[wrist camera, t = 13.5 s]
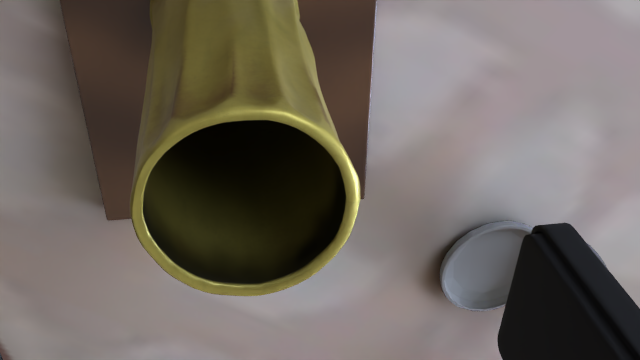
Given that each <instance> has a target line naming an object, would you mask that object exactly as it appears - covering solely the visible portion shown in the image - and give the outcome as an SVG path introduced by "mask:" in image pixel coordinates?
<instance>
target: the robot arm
mask: <svg viewBox="0 0 640 360" xmlns="http://www.w3.org/2000/svg"><path fill="white" fill-rule="evenodd" d="M498 348H499V351H500V354H501V357H502V359H503V360H640V309H639V307H638V306H637V305H636V304H635V302H634V301H633V300H632V299H631V298H630V296H629V295H628V294H627V293H626V291H625V290H624V289H623V288H622V286H621V285H620V284H619V283H618V282H617V280H616V279H615V278H614V277H613V275H612V274H611V273H610V272H609V270H608V269H607V268H606V267H605V266H604V264H603V263H602V262H601V261H600V259H599V258H598V257H597V256H596V254H595V253H594V252H593V251H592V250H591V248H590V247H589V246H588V245H587V243H586V242H585V241H584V240H583V238H582V237H581V236H580V235H579V234H578V232H577V231H576V230H575V229H574V228H573V227H572V226H571V225H570V224H568V223H559V224H548V225H538V226H535V227H534V228H533V229H532V231H531V234H528V235H525V237H524V238H523V241H522V244H521V248H520V252H519V256H518V260H517V264H516V268H515V271H514V275H513V279H512V283H511V287H510V291H509V295H508V298H507V302H506V306H505V310H504V314H503V318H502V322H501V326H500V329H499V333H498ZM0 360H3V359H2V356H1V354H0Z"/></svg>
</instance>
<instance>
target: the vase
mask: <svg viewBox="0 0 640 360" xmlns="http://www.w3.org/2000/svg"><path fill="white" fill-rule="evenodd" d="M299 19H300V13H299V8H298V2H297V0H150V20H151V25H152V30H153V31H152V45H151V52H150V58H149V64H148V72H147V81H146V90H145V96H144V103H143V110H142V117H141V124H140V129H139V135H138V142H137V151H136V160H135V168H134V177H133V184H132V191H131V196H130V215H131V219H132V223H133V227H134V229H135V232H136V235H137V237H138V239H139V241H140V243H141V245H142V246H143V248H144V249H145V250H146V251H147V252H148V253H149V255H150V256H151V257H152V258H153V259H154V260H155V261H156V263H157V264H158V265H159V266H160V267H161V268H162V269H163V270H164V271H165V272H167V273H168V274H169V275H171V276H172V277H174V278H175V279H177V280H179V281H181V282H183V283H185V284H187V285H188V286H190V287H192V288H195V289H198V290H201V291H203V292H207V293H211V294H219V295H233V296H258V295H265V294H270V293H274V292H277V291H281V290H284V289H287V288H289V287H292V286H294V285H297V284H299V283H300V282H302V281H304V280H306V279H308V278H310V277H311V276H312V275H314V274H315V273H317V272H318V271H319V270H320V269H321V268H322V267H324V266H325V265H326V264H327V263H328V262H329V261H330V260H331V259H332V258H333V257H335V255H336V254H337V253H338V252H339V250H340V249H341V248H342V247H343V245H344V244H345V242H346V241H347V239H348V238H349V236H350V233H351V231H352V229H353V226H354V222H355V219H356V216H357V212H358V207H359V203H360V181H359V178H358V175H357V173H356V171H355V169H354V167H353V165H352V163H351V160H350V159H349V157H348V155H347V153H346V151H345V149H344V147H343V146H342V144H341V143H340V141H339V138H338V135H337V132H336V129H335V127H334V124H333V122H332V119H331V117H330V114H329V112H328V109H327V107H326V104H325V101H324V98H323V95H322V92H321V89H320V86H319V82H318V77H317V71H316V65H315V58H314V54H313V51H312V48H311V45H310V43H309V41H308V38H307V35H306V33H305V30H304V28H303V27H302V25H301V23H300V21H299Z"/></svg>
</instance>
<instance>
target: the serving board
mask: <svg viewBox="0 0 640 360" xmlns="http://www.w3.org/2000/svg"><path fill="white" fill-rule="evenodd" d="M297 2H298V8H299V13H300V19H299V21H300V23H301V25H302V27H303V28H304V30H305V33H306V35H307V38H308V41H309V43H310V45H311V48H312V51H313V54H314V58H315V65H316V71H317V77H318V82H319V86H320V89H321V92H322V95H323V98H324V101H325V104H326V107H327V109H328V112H329V114H330V117H331V119H332V122H333V124H334V127H335V129H336V132H337V135H338V138H339V141H340V143H341V144H342V146H343V147H344V149H345V151H346V153H347V155H348V157H349V159H350V160H351V163H352V165H353V167H354V169H355V171H356V173H357V175H358V178H359V181H360V199H364V195H365V179H366V164H367V148H368V133H369V117H370V102H371V86H372V71H373V55H374V40H375V24H376V9H377V0H297ZM60 4H61V9H62V14H63V18H64V23H65V28H66V32H67V37H68V42H69V46H70V51H71V55H72V60H73V65H74V69H75V74H76V79H77V83H78V88H79V93H80V97H81V102H82V106H83V111H84V116H85V120H86V125H87V130H88V134H89V139H90V143H91V148H92V153H93V157H94V162H95V167H96V171H97V176H98V181H99V185H100V190H101V194H102V199H103V204H104V208H105V213H106V218H107V220H120V219H131V215H130V196H131V191H132V184H133V177H134V168H135V160H136V151H137V142H138V135H139V129H140V124H141V117H142V110H143V103H144V96H145V90H146V81H147V72H148V64H149V58H150V52H151V45H152V31H153V30H152V25H151V20H150V0H60Z"/></svg>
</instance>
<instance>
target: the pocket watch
mask: <svg viewBox="0 0 640 360" xmlns="http://www.w3.org/2000/svg"><path fill="white" fill-rule="evenodd" d="M532 229H533V228H531V227H530V226H528V225H526V224H523V223H519V222H515V221H501V222H494V223H488V224H485V225H483V226H481V227H479V228H476V229H474V230H472V231H470V232H468V233H467V234H466V235H464V236H463V237H462V238H461V239H459V240H458V241H457V242H456V243H455V244H454V245H453V246H452V248H451V249H450V250H449V251H448V252H447V254H446V256H445V258H444V260H443V262H442V265H441V268H440V282H441V287H442V291H443V292H444V294H445V296H446V297H447V298H448V299H449V300H450V301H451V302H452V303H453V304H455V305H456V306H458V307H460V308H463V309H467V310H471V311H488V310H494V309H497V308H500V307H503V306H505V305H506V302H507V298H508V295H509V291H510V287H511V283H512V279H513V275H514V271H515V268H516V264H517V260H518V256H519V252H520V248H521V244H522V241H523V238H524V237H525V235H528V234H531V231H532ZM587 245H588V246H589V247H590V248H591V250H592V251H593V252H594V253H595V254H596V256H597V257H598V258H599V259H600V261H601V262H602V263H603V264H604V266H605V267H606V265H605V263H604V262H603V260H602V259H601V257H600V256H599V255H598V253H597V252H596V251H595V250H594V249H593V248H592V247H591V246H590V245H589V244H587ZM606 268H607V267H606Z"/></svg>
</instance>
